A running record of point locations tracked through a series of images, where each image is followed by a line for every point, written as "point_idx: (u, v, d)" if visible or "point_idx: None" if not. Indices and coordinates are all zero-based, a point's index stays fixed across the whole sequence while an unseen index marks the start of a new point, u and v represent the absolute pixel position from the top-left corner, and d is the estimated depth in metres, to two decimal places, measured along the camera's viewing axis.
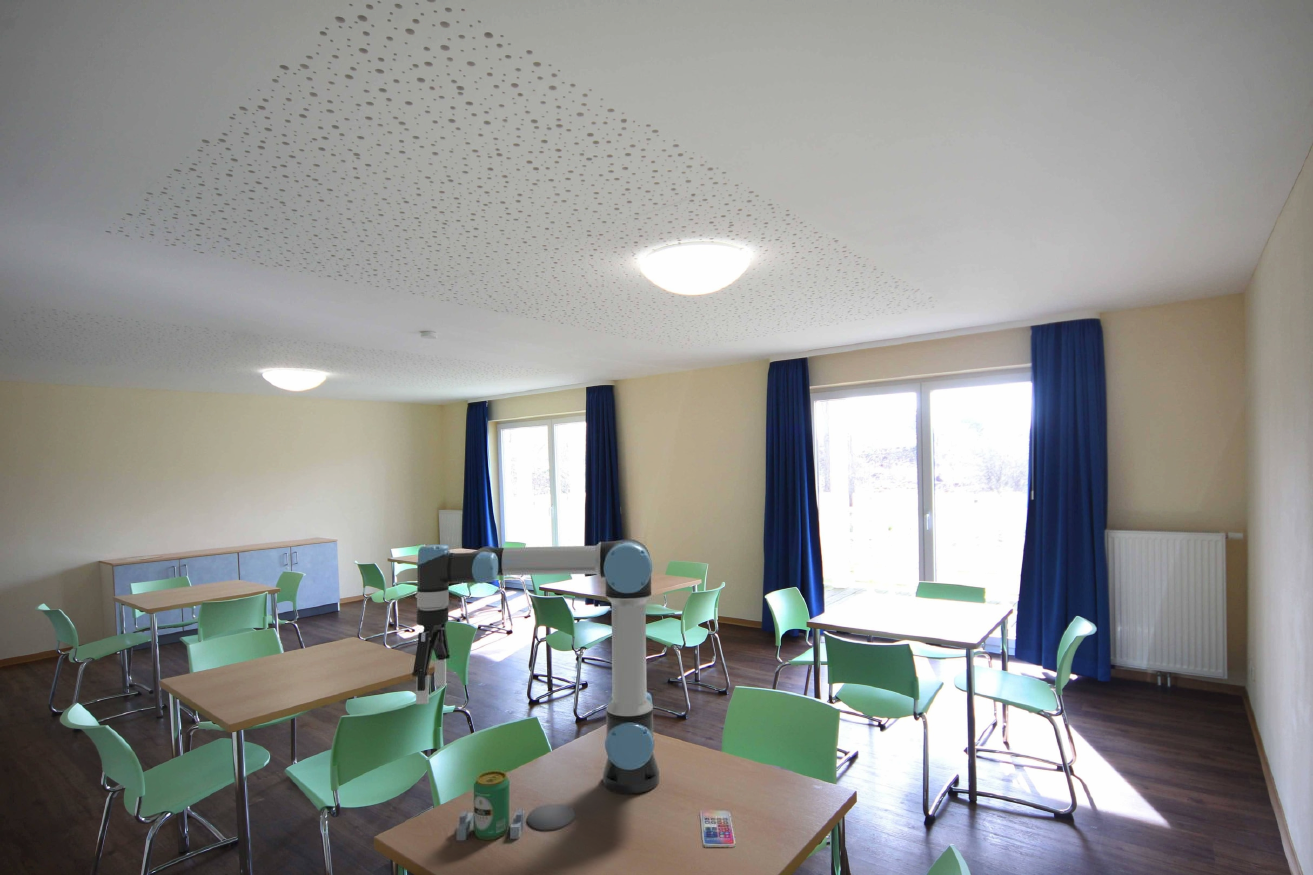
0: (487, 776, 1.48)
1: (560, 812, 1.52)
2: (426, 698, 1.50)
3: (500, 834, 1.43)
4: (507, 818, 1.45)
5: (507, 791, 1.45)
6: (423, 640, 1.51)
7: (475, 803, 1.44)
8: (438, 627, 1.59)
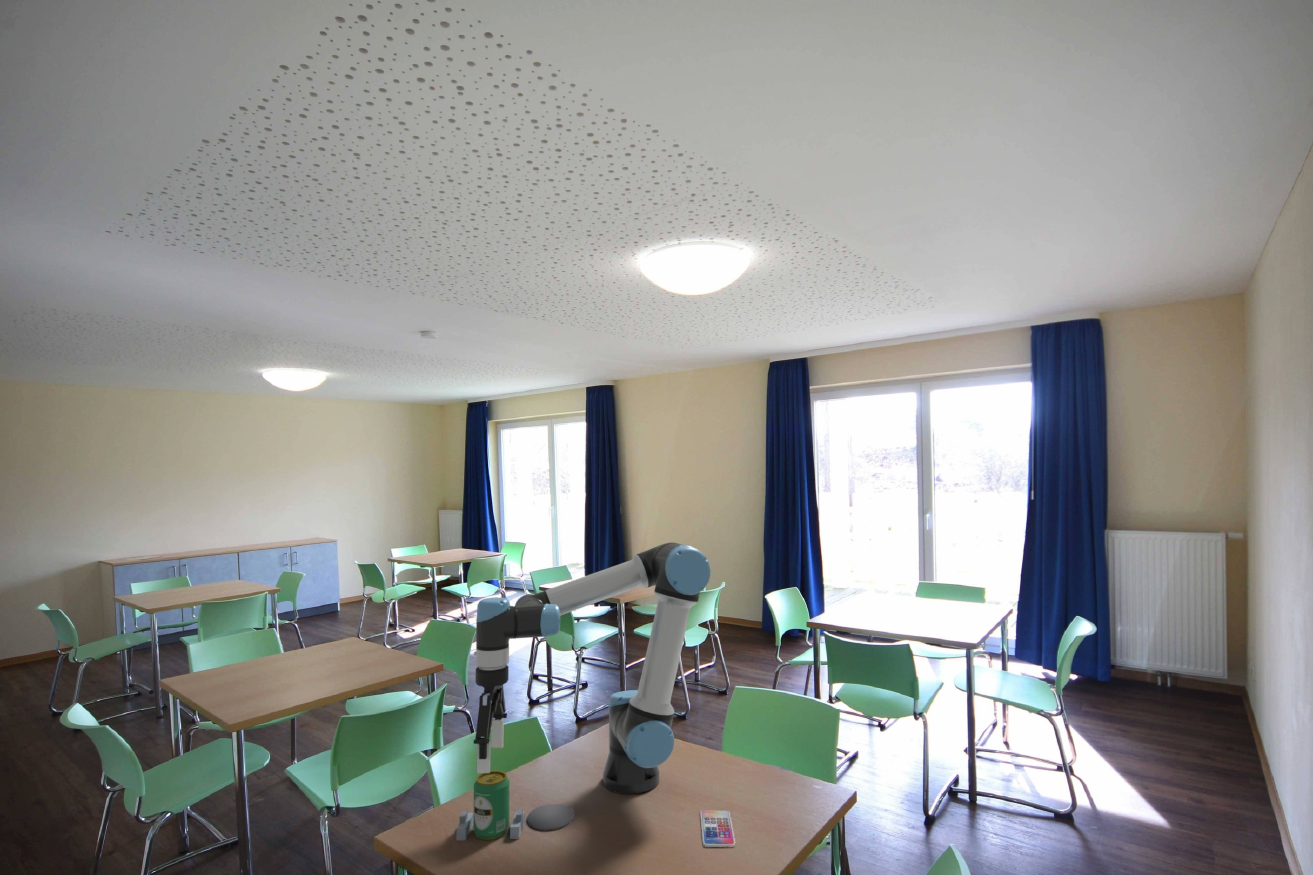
0: (487, 776, 1.48)
1: (560, 812, 1.52)
2: (488, 767, 1.40)
3: (500, 834, 1.43)
4: (507, 818, 1.45)
5: (507, 791, 1.45)
6: (485, 704, 1.41)
7: (475, 803, 1.44)
8: (497, 686, 1.49)
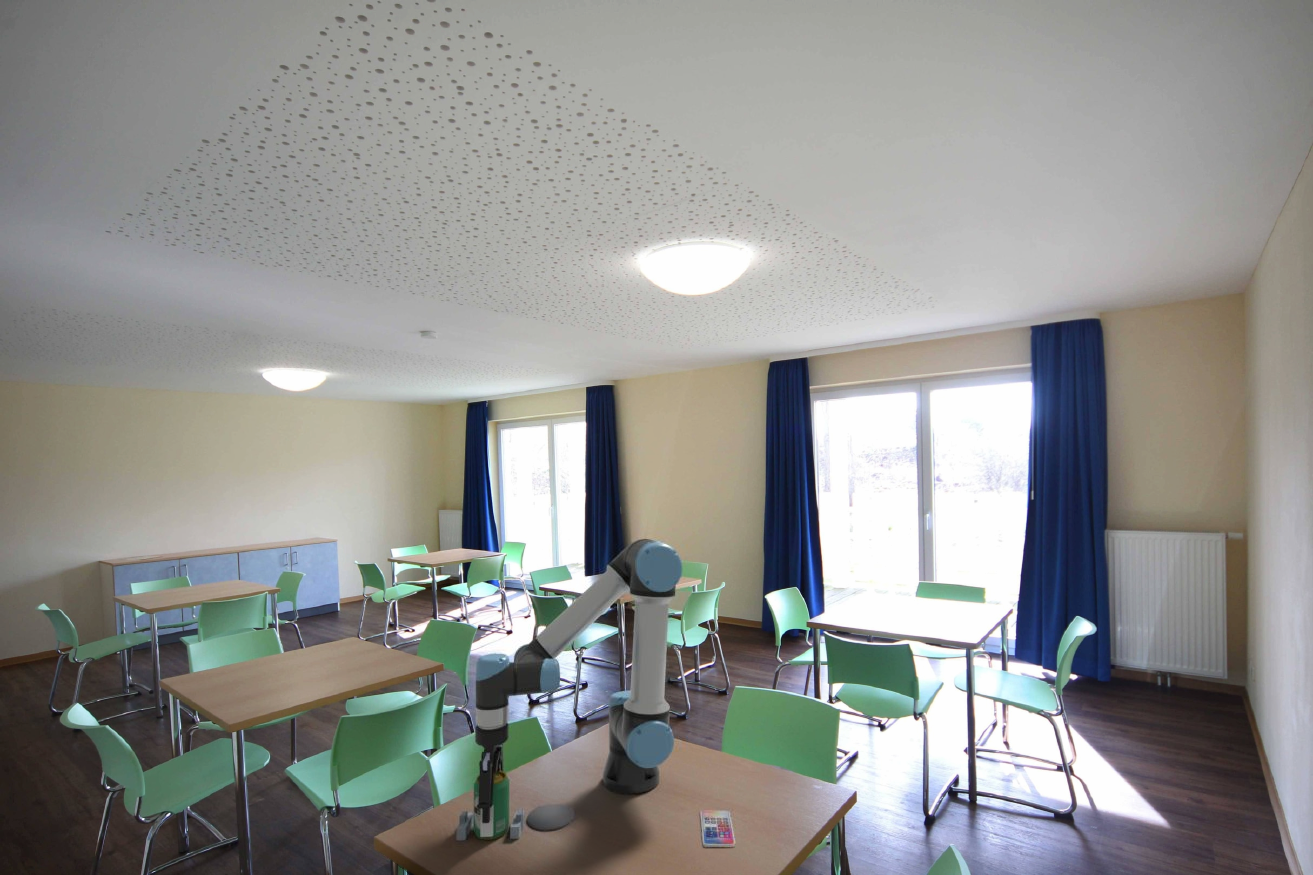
0: None
1: (560, 812, 1.52)
2: (491, 830, 1.41)
3: (500, 834, 1.43)
4: (507, 818, 1.45)
5: (507, 791, 1.45)
6: (485, 769, 1.40)
7: (475, 803, 1.44)
8: None
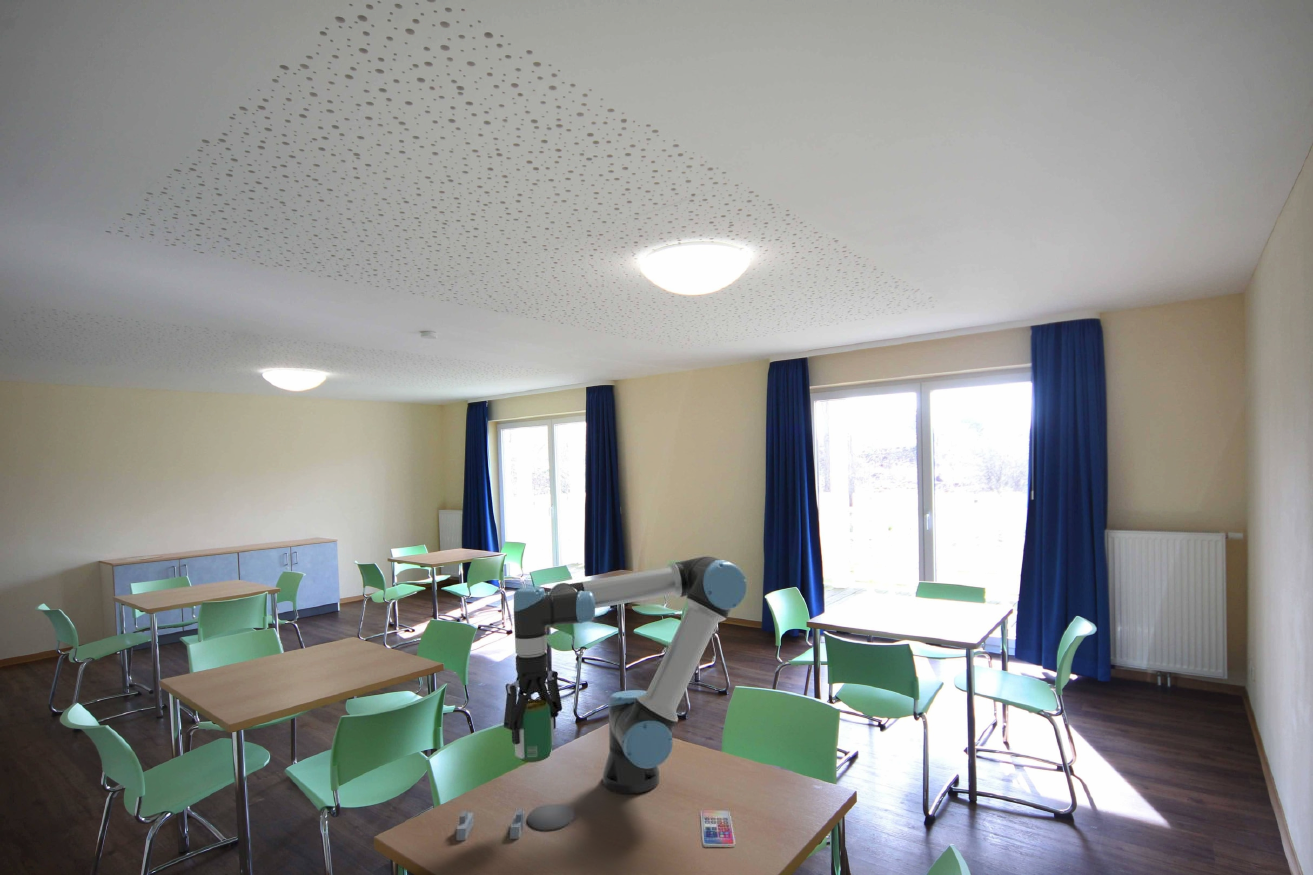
0: (534, 703, 1.53)
1: (560, 812, 1.52)
2: (521, 752, 1.47)
3: (532, 759, 1.47)
4: (541, 747, 1.47)
5: (539, 721, 1.48)
6: (509, 693, 1.47)
7: None
8: (540, 672, 1.52)
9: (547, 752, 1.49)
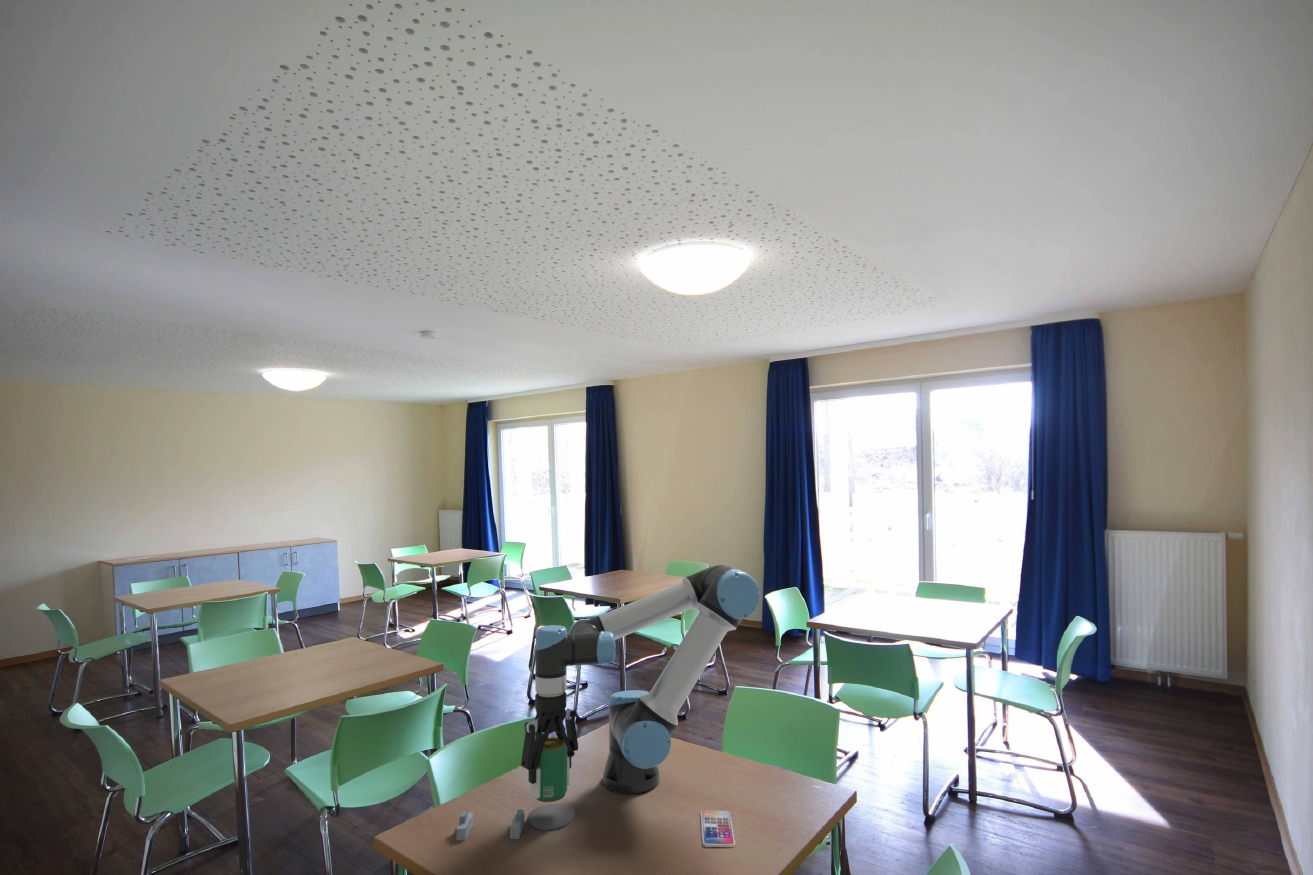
0: (551, 742, 1.54)
1: (560, 812, 1.52)
2: (536, 792, 1.47)
3: (548, 799, 1.48)
4: (557, 787, 1.48)
5: (557, 761, 1.49)
6: (528, 732, 1.48)
7: None
8: (558, 711, 1.53)
9: (563, 792, 1.49)
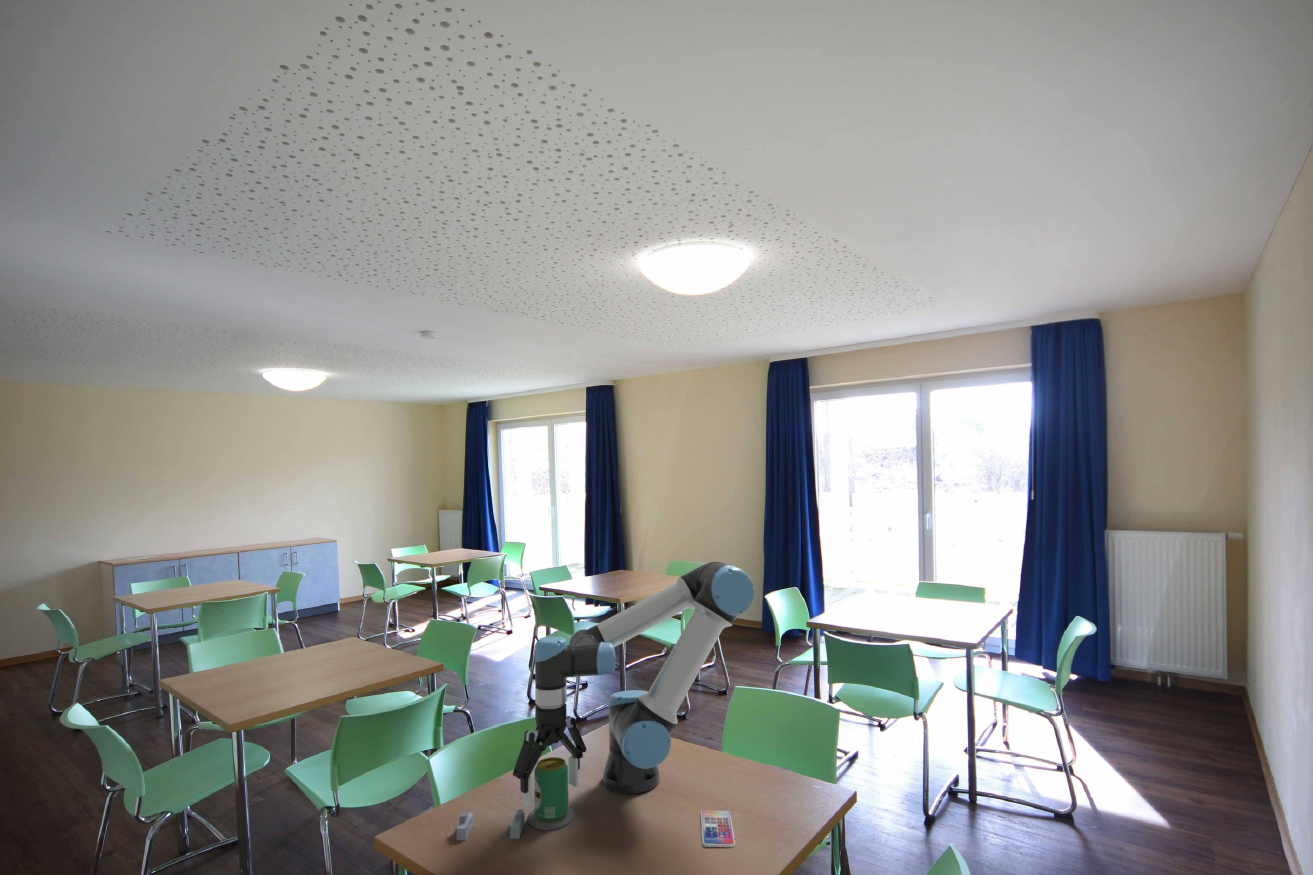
0: (552, 761, 1.54)
1: None
2: (529, 801, 1.46)
3: (549, 820, 1.48)
4: (558, 808, 1.48)
5: (558, 781, 1.49)
6: (527, 740, 1.48)
7: None
8: (558, 725, 1.53)
9: (564, 812, 1.49)
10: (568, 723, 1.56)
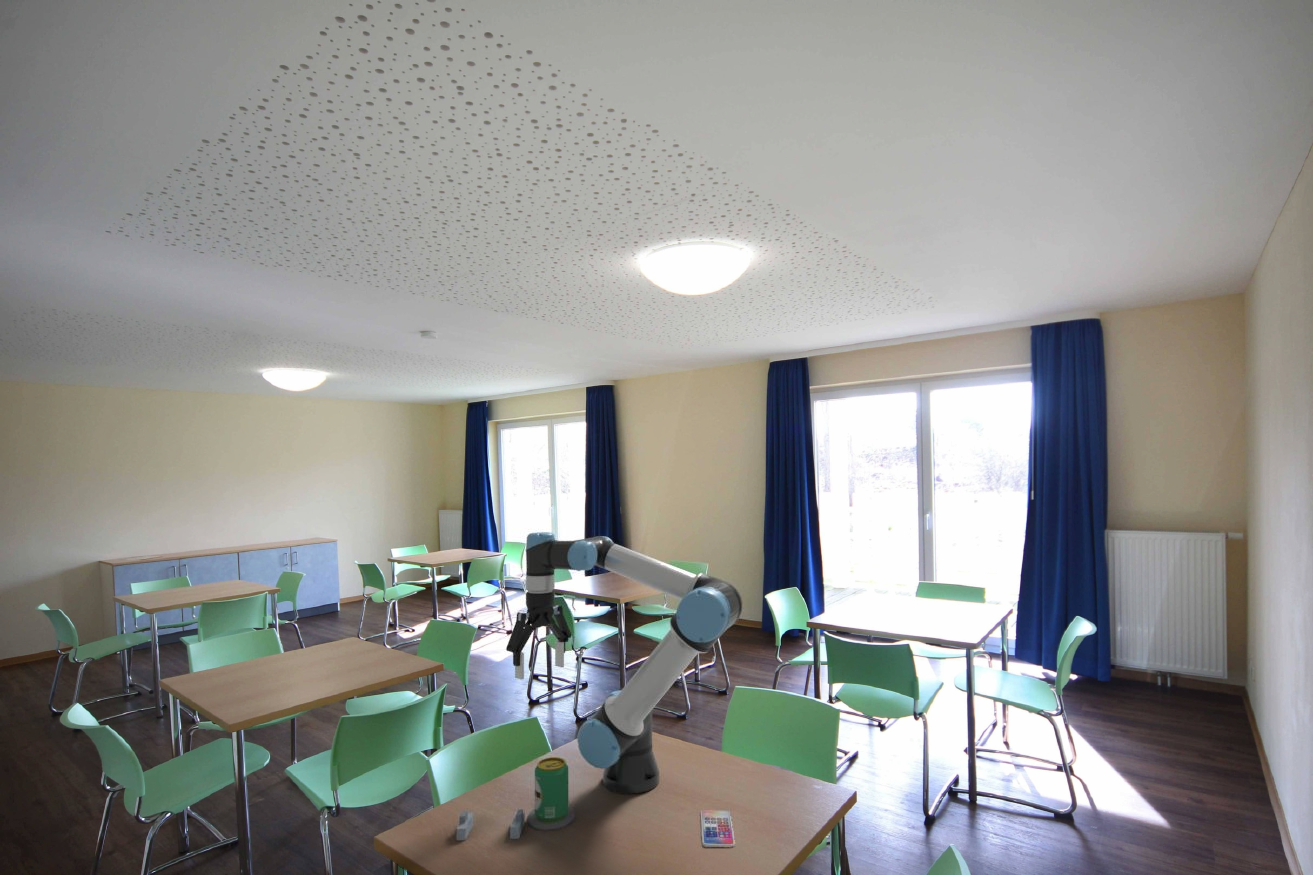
0: (552, 761, 1.54)
1: None
2: (520, 674, 1.61)
3: (549, 820, 1.48)
4: (558, 808, 1.48)
5: (558, 781, 1.49)
6: (519, 619, 1.63)
7: None
8: (546, 610, 1.69)
9: (564, 812, 1.49)
10: (555, 610, 1.72)
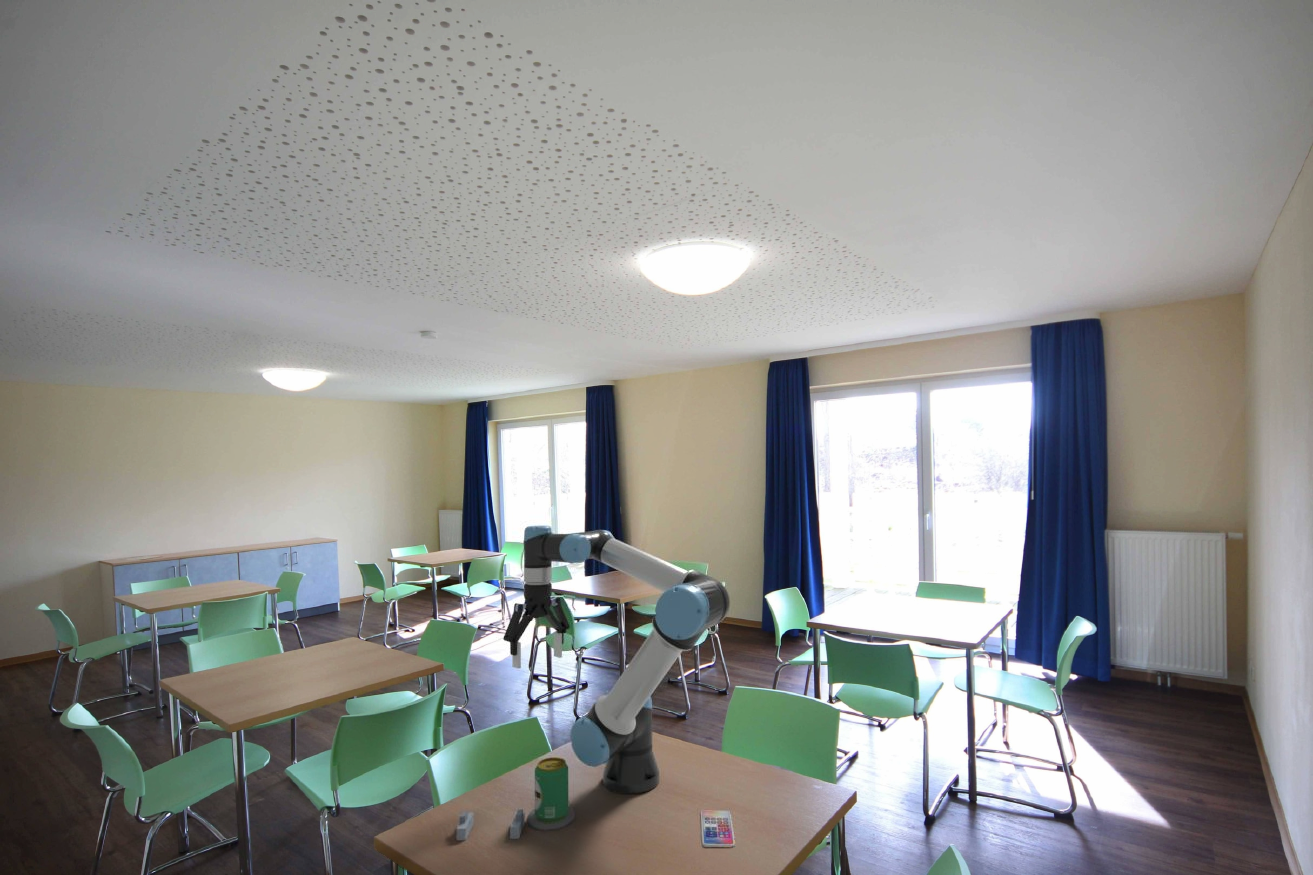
0: (552, 761, 1.54)
1: None
2: (517, 663, 1.65)
3: (549, 820, 1.48)
4: (558, 808, 1.48)
5: (558, 781, 1.49)
6: (516, 610, 1.67)
7: None
8: (544, 601, 1.73)
9: (564, 813, 1.49)
10: (553, 602, 1.76)
